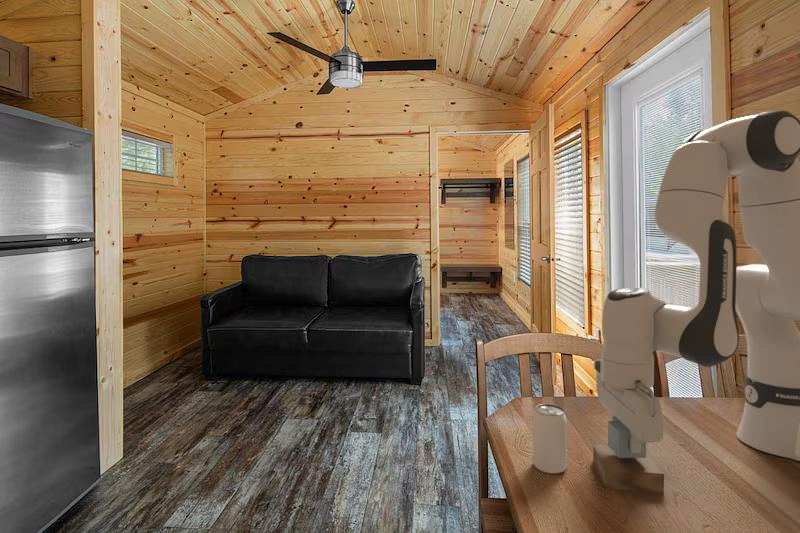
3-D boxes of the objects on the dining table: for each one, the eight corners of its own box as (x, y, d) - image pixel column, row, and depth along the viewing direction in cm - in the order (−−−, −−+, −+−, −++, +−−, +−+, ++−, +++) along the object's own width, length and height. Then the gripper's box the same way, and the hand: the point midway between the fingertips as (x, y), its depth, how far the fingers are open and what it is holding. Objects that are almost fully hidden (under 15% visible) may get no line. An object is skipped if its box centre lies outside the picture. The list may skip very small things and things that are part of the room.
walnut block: (645, 466, 91) (646, 447, 91) (663, 495, 81) (664, 473, 81) (593, 462, 93) (593, 444, 93) (604, 489, 83) (604, 469, 83)
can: (556, 456, 95) (556, 401, 94) (573, 472, 89) (573, 414, 88) (527, 460, 94) (527, 404, 93) (542, 476, 88) (542, 417, 87)
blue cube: (633, 445, 89) (633, 420, 89) (646, 457, 84) (646, 431, 84) (607, 445, 89) (608, 420, 89) (618, 457, 84) (618, 432, 84)
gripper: (674, 392, 75) (673, 471, 76) (620, 358, 96) (620, 421, 97) (636, 392, 75) (635, 471, 77) (590, 358, 96) (590, 421, 97)
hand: (626, 443), depth 87 cm, fingers closed on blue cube, 5 cm apart
